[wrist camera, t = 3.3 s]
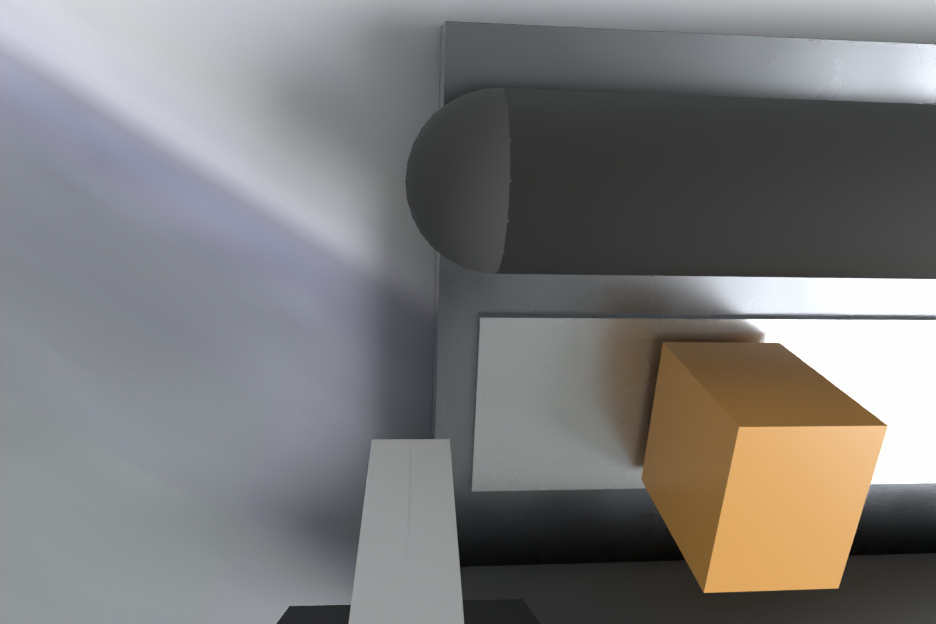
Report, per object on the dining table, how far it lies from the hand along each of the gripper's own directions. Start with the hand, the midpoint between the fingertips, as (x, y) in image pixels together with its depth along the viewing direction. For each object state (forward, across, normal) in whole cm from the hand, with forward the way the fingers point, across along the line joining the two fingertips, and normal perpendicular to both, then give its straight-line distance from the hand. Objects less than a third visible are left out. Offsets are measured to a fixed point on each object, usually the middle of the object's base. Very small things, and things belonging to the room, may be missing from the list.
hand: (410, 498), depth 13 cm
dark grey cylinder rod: (+4, +14, +6) cm, 15 cm away
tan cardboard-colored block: (+4, +8, 0) cm, 8 cm away
